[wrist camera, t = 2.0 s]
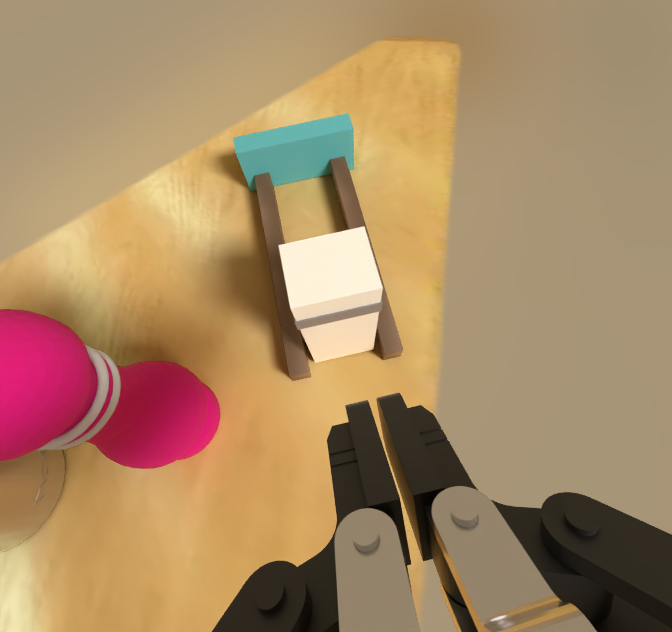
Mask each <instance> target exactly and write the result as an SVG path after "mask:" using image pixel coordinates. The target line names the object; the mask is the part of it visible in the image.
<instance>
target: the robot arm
mask: <svg viewBox="0 0 672 632" xmlns="http://www.w3.org/2000/svg"><path fill="white" fill-rule="evenodd" d="M377 405H378V411H379V416H380V422H381V427H382V433H383V438H384V442H385V446H386V450H387V453H388V457H389V460H390V463H391V466H392V469H393V472H394V475H395V478H396V481H397V484H398V487H399V490H400V493H401V496H402V499H403V502H404V505H405V508H406V511H407V514H408V517H409V520H410V523H411V526H412V529H413V532H414V535H415V538H416V541H417V544H418V547H419V550H420V553H421V556H422V559H423V561H426V560H430V559H433V560H434V563H435V566H436V568H437V571H438V574H439V577H440V584H441V591H442V594H443V597H444V600H445V602H446V604H447V607H448V609H449V612H450V614H451V617H452V619H453V622H454V624H455V627H456V629H457V632H672V535H671V534H669V533H666V532H664V531H662V530H660V529H658V528H655V527H654V526H651V525H649V524H647V523H645V522H643V521H640V520H638V519H636V518H634V517H632V516H629V515H627V514H625V513H623V512H621V511H618V510H616V509H614V508H612V507H610V506H608V505H605V504H603V503H601V502H599V501H597V500H594V499H592V498H590V497H587V496H585V495H581V494H577V493H570V492H564V493H557V494H554V495H552V496H550V497H548V498H547V499H546V500H545V502H544V503H543V505H542V508H541V509H539V508H526V507H513V506H507V505H503V504H500V503H497V502H494V501H493V500H490V499H489V498H488V497H487V496H486V495H485V494H483V493H482V492H480V491H478V489H477V488H476V487H475V486H474V485H473V483H472V481H471V479H470V478H469V476H468V474H467V472H466V471H465V469H464V467H463V465H462V464H461V462H460V460H459V458H458V457H457V455H456V453H455V451H454V450H453V448H452V446H451V444H450V442H449V441H448V440H447V437H446V435H445V434H444V432H443V430H441V427H440V425H439V423H438V421H437V420H436V418H435V416H434V415H433V414H432V413H431V412H429V411H428V410H427V409H425V408H424V407H423V406H421V405H420V406H415V407H411V408H407V406H406V404H405V402H404V400H403V398H402V396H401V394H400V393H396V394H392V395H387V396H383V397H379V398H377ZM345 406H346V411H347V415H348V420H349V422H348V423H343V424H339V425H335V426H332V428H331V431H330V433H329V436H328V439H327V443H328V451H329V459H330V466H331V474H332V482H333V490H334V498H335V505H336V513H337V525H336V529H335V532H334V535H333V537H332V539H331V540H330V542H329V543H328V545H327V546H326V547H325V548H324V549H323V550H322V551H321V552H320V553H318V554H317V555H316V556H314V557H313V558H311V559H309V560H308V561H306V562H305V563H303V564H302V565H300V566H298V567H296V566H295V565H293V564H292V563H289V562H286V561H274V562H270V563H268V564H265V565H264V566H262V567H260V568H259V569H258V570H256V571H255V572H254V573H253V574H252V575H251V576H250V577H249V579H248V580H247V581H246V582H245V584H244V585H243V587H242V588H241V590H240V591H239V593H238V594H237V596H236V597H235V599H234V600H233V602H232V603H231V604H230V606H229V607H228V609H227V610H226V612H225V613H224V615H223V616H222V618H221V619H220V621H219V622H218V623H217V625H216V626H215V628H214V629H213V631H212V632H420V627H419V623H418V619H417V614H416V610H415V606H414V601H413V597H412V590H411V585H410V579H409V574H408V568H407V565H410V564H411V560H410V554H409V548H408V543H407V537H406V531H405V525H404V520H403V514H402V508H401V502H400V498H399V494H398V491H397V488H396V485H395V482H394V479H393V476H392V473H391V470H390V467H389V464H388V461H387V457H386V454H385V451H384V448H383V445H382V442H381V439H380V436H379V433H378V430H377V427H376V424H375V420H374V417H373V414H372V411H371V408H370V405H369V402H368V400H366V401H362V402H358V403H354V404H349V405H345ZM64 476H65V459H64V455H63V451H62V450H48V449H45V450H34V451H32V452H30V453H28V454H26V455H23V456H21V457H18V458H16V459H11V460H5V461H0V552H4V551H6V550H9V549H11V548H13V547H15V546H17V545H19V544H21V543H22V542H23V541H25V540H26V539H28V538H29V537H30V536H32V535H33V534H34V533H35V532H36V531H37V530H38V529H39V528H40V527H41V526H42V525H43V523H44V522H45V521H46V519H47V518H48V516H49V515H50V514H51V512H52V510H53V509H54V507H55V505H56V503H57V501H58V499H59V496H60V493H61V490H62V487H63V483H64Z"/></svg>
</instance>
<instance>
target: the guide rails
mask: <svg viewBox="0 0 672 632" xmlns="http://www.w3.org/2000/svg"><path fill="white" fill-rule="evenodd" d="M330 163H331V174H332V177H333V181H334V185H335V188H336V192H337V196H338V199H339V203H340V206H341V210H342V214H343V217H344V221H345V224H346V228H347V230H350V229H355V228H359V227H365V230H366V233H367V237H368V240H369V243H370V247H371V250H372V253H373V257H374V260H375V264H376V267H377V270H378V274H379V277H380V280H381V284H382V287H383V290H382V297H381V299H382V302H383V305H382V311H379V316H378V322H377V329H376V336H377V340H378V344H379V347H380V351H381V354H382V358H383V360H385V359H390V358H394V357H398V356H401V353H402V351H403V347H402V344H401V341H400V337H399V334H398V331H397V327H396V324H395V321H394V317H393V314H392V311H391V307H390V304H389V301H388V298H387V294H386V291H385V288H384V284H383V281H382V278H381V274H380V271H379V268H378V264H377V261H376V258H375V254H374V251H373V248H372V244H371V241H370V238H369V235H368V231H367V228H366V225H365V221H364V218H363V215H362V211H361V208H360V205H359V201H358V198H357V195H356V191H355V188H354V185H353V181H352V178H351V175H350V172H349V168H348V165H347V162H346V158H345V156H343V157H338V158H334V159H330ZM254 177H255V182H256V188H257V194H258V200H259V205H260V211H261V217H262V223H263V228H264V234H265V240H266V246H267V251H268V257H269V263H270V269H271V274H272V280H273V286H274V292H275V297H276V303H277V309H278V315H279V320H280V326H281V332H282V337H283V343H284V349H285V355H286V360H287V366H288V372H289V376H290V377H291V379H292V380H293V381H294V380H299V379H303V378H307V377H311V374H310V369H309V364H308V359H307V354H306V349H305V344H304V339H303V335H302V333H301V331H300V330H298V329H297V327H296V325H295V322H294V317H293V313H292V311H291V309H290V304H289V298H288V293H287V288H286V283H285V277H284V272H283V267H282V261H281V256H280V251H279V245H282V244H285V242H284V237H283V232H282V227H281V222H280V217H279V212H278V207H277V201H276V196H275V191H274V186H273V183H272V180H271V177H270V173H269V172H268V173H263V174H259V175H254Z"/></svg>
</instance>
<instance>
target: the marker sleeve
mask: <svg viewBox="0 0 672 632" xmlns="http://www.w3.org/2000/svg"><path fill="white" fill-rule="evenodd" d="M279 251H280V256H281V261H282V267H283V272H284V277H285V283H286V288H287V293H288V298H289V304H290V309H291V311H292V313H293V317H294V322H295V325H296V327H297V329H298V330H300V331H301V333H302V335H303V337H304V339H305V342H306V344H307V346H308V348H309V350H310V352H311V355H312V357H313V359H314V361H315V363H317V362H321V361H325V360H330V359H334V358H338V357H343V356H347V355H351V354H356V353H360V352H364V351H369V350H373V348H374V341H375V335H376V329H377V322H378V316H379V311H382V305H383V302H382V299H381V297H382V290H383V287H382V284H381V280H380V277H379V274H378V270H377V267H376V264H375V260H374V257H373V253H372V250H371V247H370V243H369V240H368V237H367V233H366V230H365V227H359V228H355V229H350V230H345V231H341V232H336V233H332V234H327V235H323V236H318V237H314V238H309V239H305V240H300V241H295V242H291V243H286V244H282V245H279Z"/></svg>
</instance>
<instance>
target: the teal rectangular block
mask: <svg viewBox="0 0 672 632" xmlns="http://www.w3.org/2000/svg"><path fill="white" fill-rule="evenodd" d="M233 139H234V145H235V152H236V155H237V158H238V160H239V163H240V165H241V168H242V170H243V173H244V175H245V178H246V180H247V183H248V185H249V188H250V190H251V191H254V190H257V188H256V182H255V177H254V175H259V174H263V173H268V172H269V173H270V177H271V180H272V183H273V186H277V185H282V184H287V183H291V182H296V181H301V180H305V179H310V178H315V177H319V176H324V175H329V174H331V163H330V159H334V158H338V157H343V156H345V158H346V162H347V165H348V168H349V170H352V169H354V142H353V126H352V123H351V120H350V117H349V114H343V115H339V116H334V117H329V118H324V119H320V120H315V121H310V122H305V123H301V124H296V125H291V126H286V127H282V128H277V129H272V130H267V131H263V132H258V133H253V134H248V135H244V136H239V137H234V138H233Z"/></svg>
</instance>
